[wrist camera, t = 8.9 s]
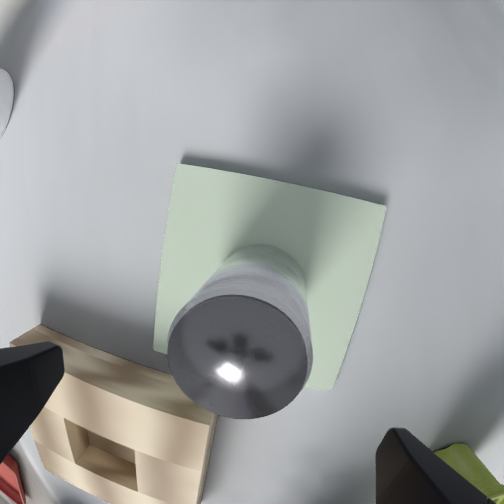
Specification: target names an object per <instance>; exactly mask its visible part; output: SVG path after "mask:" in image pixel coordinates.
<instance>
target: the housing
mask: <svg viewBox="0 0 504 504" xmlns="http://www.w3.org/2000/svg"><path fill="white" fill-rule="evenodd" d="M46 341H51V342H53V343H55V344H58V345H60V346H61V348H62V350H63V359H64V367H65V372H64V376H63V378H62V380H61V381H60V383H59V384H58V386H57V387H56V389H55V390H54V392H53V393H52V395H51V397H50V398H49V400H48V401H47V403H46V405H45V406H44V408H43V409H42V411H41V412H40V414H39V415H38V416H37V418H36V419H35V420H34V421H33V423H32V424H31V425H30V429H31V432H32V435H33V438H34V441H35V444H36V447H37V450H38V452H39V455H40V458H41V460H42V463H43V465H44V468H45V469H46V470H48V471H49V472H51V473H53V474H55V475H56V476H58V477H60V478H61V479H63V480H65V481H67V482H69V483H70V484H72V485H74V486H76V487H78V488H80V489H82V490H84V491H86V492H88V493H90V494H92V495H94V496H96V497H98V498H100V499H102V500H105V501H107V502H109V503H111V504H201V499H202V494H203V489H204V483H205V478H206V473H207V468H208V463H209V457H210V452H211V447H212V442H213V437H214V432H215V426H216V421H217V416H218V415H217V414H214V413H212V412H209V411H207V410H206V409H204V408H202V407H200V406H199V405H197V404H196V403H194V402H193V401H192V400H191V399H190V398H188V397H187V396H186V395H185V394H184V393H183V391H182V390H181V389H180V388H179V386H178V385H177V383H176V382H175V380H174V378H173V376H172V375H170V374H167V373H164V372H161V371H157V370H154V369H151V368H148V367H145V366H142V365H139V364H136V363H134V362H131V361H128V360H125V359H122V358H120V357H117V356H114V355H111V354H109V353H106V352H104V351H101V350H98V349H96V348H93V347H91V346H88V345H86V344H84V343H81V342H79V341H76V340H74V339H72V338H69V337H67V336H65V335H62V334H60V333H58V332H56V331H54V330H51V329H49V328H47V327H45V326H43V325H41V324H40V325H38V326H36V327H35V328H33V329H31V330H29V331H28V332H26V333H24V334H23V335H21V336H19V337H18V338H16V339H14V340H13V341H11V342H9V343H10V347H15V346H22V345H28V344H34V343H40V342H46Z"/></svg>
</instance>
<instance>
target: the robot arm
mask: <svg viewBox="0 0 504 504" xmlns="http://www.w3.org/2000/svg"><path fill="white" fill-rule="evenodd" d="M64 372H65V367H64V359H63V350H62V348H61V346H60V345H58V344H55V343H53V342H51V341H46V342H40V343H34V344H28V345H22V346H15V347H9V348H2V349H0V464H1V463H2V462H3V460H4V459H5V458H6V456H7V455H8V454H9V452H10V451H11V450H12V448H13V447H14V446H15V445H16V443H17V442H18V441H19V439H20V438H21V437H22V435H23V434H24V433H25V432H26V430H27V429H28V428H29V427H30V425H31V424H32V423H33V421H34V420H35V419H36V418H37V416H38V415H39V414H40V412H41V411H42V409H43V408H44V406H45V405H46V403H47V401H48V400H49V398H50V397H51V395H52V393H53V392H54V390H55V389H56V387H57V386H58V384H59V383H60V381H61V380H62V378H63V376H64ZM376 504H496V503H495V502H494V501H493V500H491V499H490V498H488V497H487V496H486V495H485V494H484V493H483V492H481V491H480V490H479V489H478V488H476V487H475V486H474V485H473V484H471V483H470V482H469V481H468V480H466V479H465V478H464V477H463V476H461V475H460V474H459V473H458V472H457V471H455V470H454V469H453V468H452V467H450V466H449V465H448V464H447V463H446V462H444V461H443V460H442V459H441V458H440V457H438V456H437V455H436V454H435V453H434V452H432V451H431V450H430V449H429V448H428V447H426V446H425V445H424V444H423V443H422V442H421V441H419V440H418V439H417V438H416V437H415V436H413V435H412V434H411V433H410V432H409V431H408V430H406V429H405V428H390V429H389V430H388V431H387V433H386V435H385V436H384V438H383V440H382V442H381V443H380V445H379V447H378V448H377V451H376Z"/></svg>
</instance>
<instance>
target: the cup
mask: <svg viewBox="0 0 504 504" xmlns="http://www.w3.org/2000/svg"><path fill="white" fill-rule="evenodd" d="M13 100H14V87H13V82H12V79H11V77H10V75H9V74H8V73H7V72H6V71H5V70H3V69H1V68H0V138H1V137H2V135H3V133H4V131H5V129H6V126H7V124H8V121H9V118H10V115H11V111H12V106H13Z"/></svg>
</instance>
